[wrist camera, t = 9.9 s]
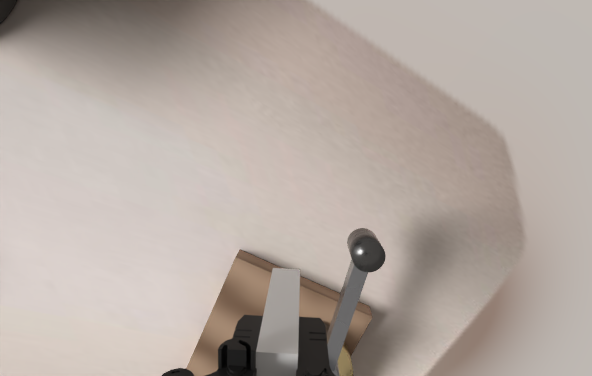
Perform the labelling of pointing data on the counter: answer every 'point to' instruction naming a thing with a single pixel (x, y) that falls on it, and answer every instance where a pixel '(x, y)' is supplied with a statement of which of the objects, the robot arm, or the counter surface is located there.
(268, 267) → the stand
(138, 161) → the counter surface
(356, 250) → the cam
